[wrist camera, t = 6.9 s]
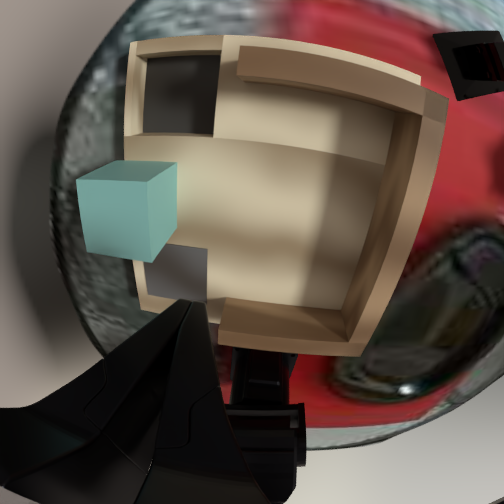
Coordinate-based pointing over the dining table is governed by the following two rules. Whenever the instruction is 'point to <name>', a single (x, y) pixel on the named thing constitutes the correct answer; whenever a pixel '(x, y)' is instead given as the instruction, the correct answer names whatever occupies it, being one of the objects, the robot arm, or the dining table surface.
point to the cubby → (384, 216)
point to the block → (129, 208)
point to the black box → (473, 61)
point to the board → (253, 174)
